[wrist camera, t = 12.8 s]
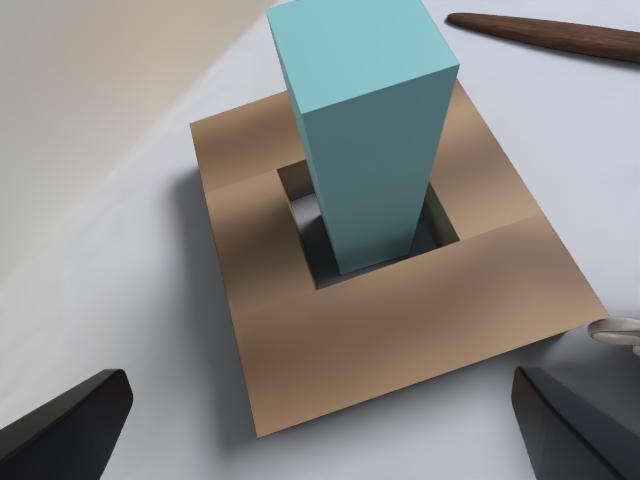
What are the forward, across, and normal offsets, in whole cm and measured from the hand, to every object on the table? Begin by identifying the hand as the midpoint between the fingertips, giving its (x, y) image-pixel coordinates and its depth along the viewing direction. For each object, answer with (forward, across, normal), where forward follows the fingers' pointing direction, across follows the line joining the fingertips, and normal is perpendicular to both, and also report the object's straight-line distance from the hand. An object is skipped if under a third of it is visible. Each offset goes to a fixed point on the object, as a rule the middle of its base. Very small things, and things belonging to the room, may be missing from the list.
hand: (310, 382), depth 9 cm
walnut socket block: (+14, -1, +2) cm, 14 cm away
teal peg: (+14, -1, +2) cm, 14 cm away
